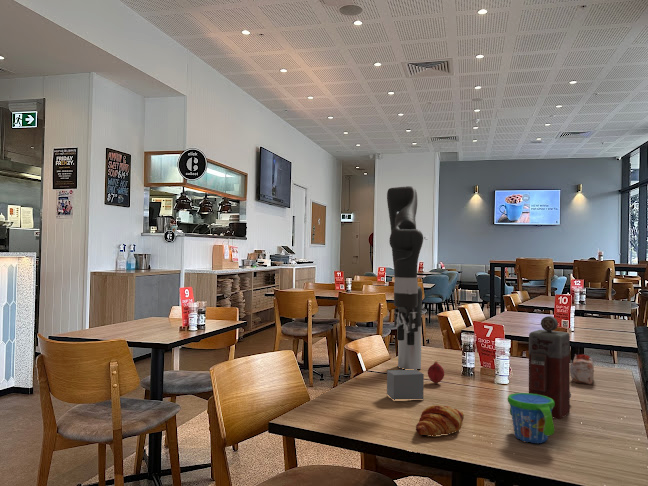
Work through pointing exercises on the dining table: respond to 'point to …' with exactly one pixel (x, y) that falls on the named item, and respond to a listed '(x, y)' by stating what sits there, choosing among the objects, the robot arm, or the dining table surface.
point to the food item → (582, 369)
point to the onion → (435, 372)
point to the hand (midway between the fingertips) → (405, 342)
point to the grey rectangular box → (405, 384)
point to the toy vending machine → (550, 365)
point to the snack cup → (531, 416)
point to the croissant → (439, 420)
